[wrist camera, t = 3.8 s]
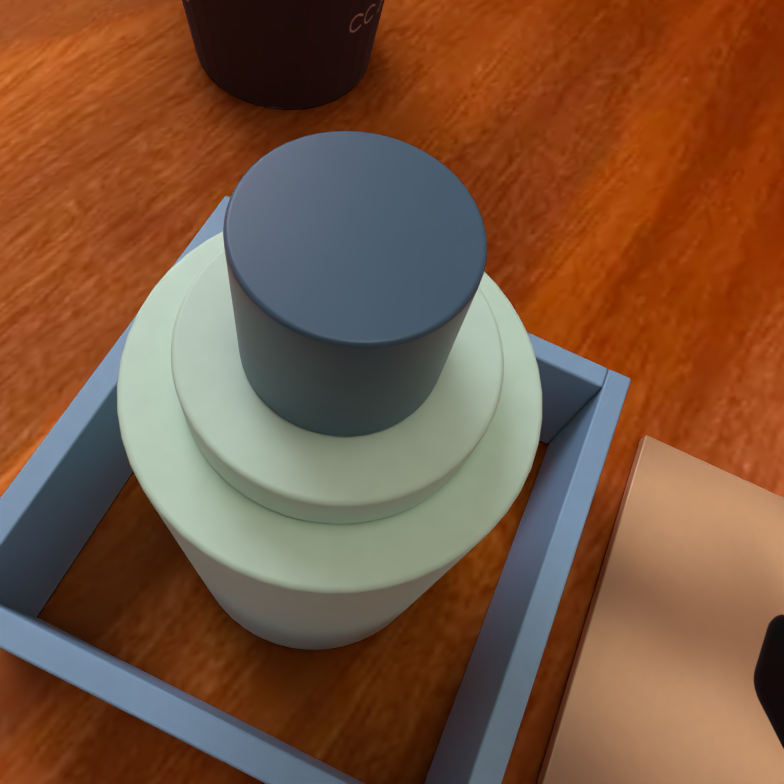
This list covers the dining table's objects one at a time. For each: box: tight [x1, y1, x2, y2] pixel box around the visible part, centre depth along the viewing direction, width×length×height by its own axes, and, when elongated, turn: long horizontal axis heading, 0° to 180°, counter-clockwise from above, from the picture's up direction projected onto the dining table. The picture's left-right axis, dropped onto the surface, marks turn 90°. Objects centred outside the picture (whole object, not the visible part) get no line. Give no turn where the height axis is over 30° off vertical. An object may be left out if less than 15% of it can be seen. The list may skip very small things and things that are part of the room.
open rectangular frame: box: [0, 196, 631, 784], centre depth 17 cm, size 11×11×4 cm
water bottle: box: [117, 131, 542, 650], centre depth 13 cm, size 6×6×12 cm
